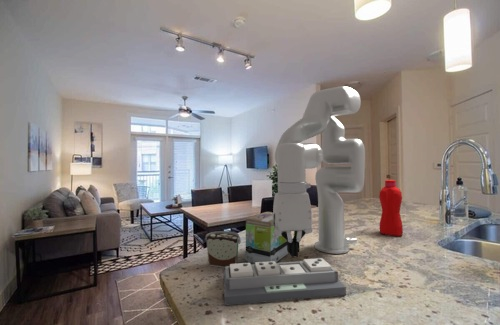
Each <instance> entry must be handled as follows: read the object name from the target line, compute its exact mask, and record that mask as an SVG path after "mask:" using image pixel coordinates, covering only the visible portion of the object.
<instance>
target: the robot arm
mask: <svg viewBox="0 0 500 325" xmlns="http://www.w3.org/2000/svg"><path fill="white" fill-rule="evenodd" d="M307 102H308V103H307V105H306V107H305V110H304V113H303V116H302V117H301V118H300V119H299V120H298V121H296V122H294V124H292V125H291V126H289V127H288V128H287V129H286V130H285V131H284V132H282V134H281V135H280V138H279V140H278V142H277V145H276V148H275V151H274V160H275V163H276V165H277V192H274V199H273V206H272V207H273V208H272V209H273V210H272V211H273V225H274V231H273V233H274V234H275V235H278V236H283V237H284V238H285V239H286V240H287V251H288V255H290V256H291V258H299V253H300V242H302V239H303V237H305V235H308V234H311V233H313V228H312V227H313V214H312V205H311V200H310V195H309V192H307V190H308V189H311V186H312V185H311V183H308V182H307V181H306V180H307V179H306V178H307V177H306V169H307V170H309V169H312V170H313V169H315V168H318V167H319V166H320V165H321V164H322V162H323V163H325V164H329V165H339V164H340V165H342V164H343V165H345V164H346V165H350V166H323V167H320V168H319V169H318V170H316V172H315V178H314V179H315V184H316V190H317V191H316V192H317V202H318V203H317V206H318V207H317V208H318V211H317V213H318V214H317V217H318V240H317V241H315V243H314V248H315V249H316V250H317V251H319V252H322V253H327V254H331V255H332V254H335V255H337V254H339V255H341V254H345V253H348V252H349V250H350V246H349V245H350V244H357V243H358V239H357V238H356V237H354V238H353V237H352V238H351V237H350V236H349V237H348V236H346V235H345V203H344V200H343V199H342V197H341V196H340V194H339V193H360V192H362V191H363V189H364V186H365V176H366V175H365V171H366V170H365V169H366V166H365V165H366V148H365V145H364V143H363V141H362V140H361V139H360V138H359V139H358V138H346V137H345V136H346V135H345V132H346V129H345V126H344V125H343V123H342V122H341V121H340V120H339V119H337V118H336V117H337V116H344V115H353V114H356V113H358V111H359V110H360V108H361V104H362V102H361V96H360V94H359V92H358V91H357V90H355V89H353V88H352V87H349V86H345V85H341V86H336V87H335V86H334V87H330V88H326V89H321V90H317V91H315V92H313V94H311V95H310V97H309V100H308V101H307ZM320 134H321V135H322V136H321V137H322V138H321V146H320V145H318V144H317V143H314V142H307V143H306V142H305V141H306V140H309V139H312V138H314V137H316V136H318V135H320ZM303 142H304V143H303ZM292 232H293V235H292Z"/></svg>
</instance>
